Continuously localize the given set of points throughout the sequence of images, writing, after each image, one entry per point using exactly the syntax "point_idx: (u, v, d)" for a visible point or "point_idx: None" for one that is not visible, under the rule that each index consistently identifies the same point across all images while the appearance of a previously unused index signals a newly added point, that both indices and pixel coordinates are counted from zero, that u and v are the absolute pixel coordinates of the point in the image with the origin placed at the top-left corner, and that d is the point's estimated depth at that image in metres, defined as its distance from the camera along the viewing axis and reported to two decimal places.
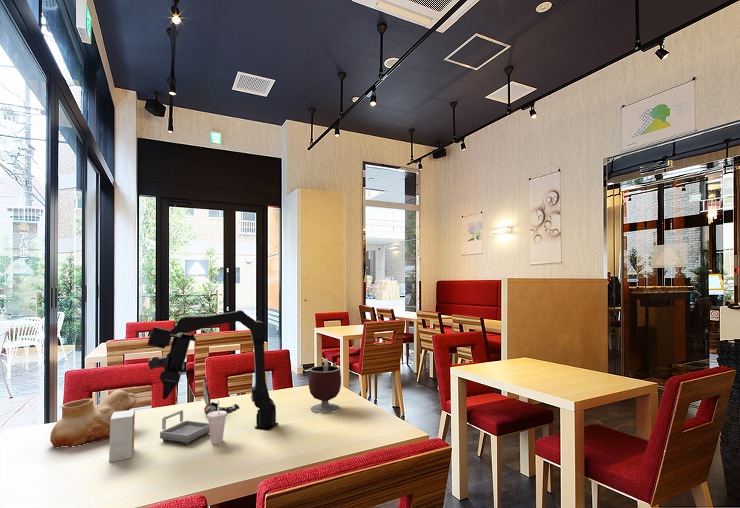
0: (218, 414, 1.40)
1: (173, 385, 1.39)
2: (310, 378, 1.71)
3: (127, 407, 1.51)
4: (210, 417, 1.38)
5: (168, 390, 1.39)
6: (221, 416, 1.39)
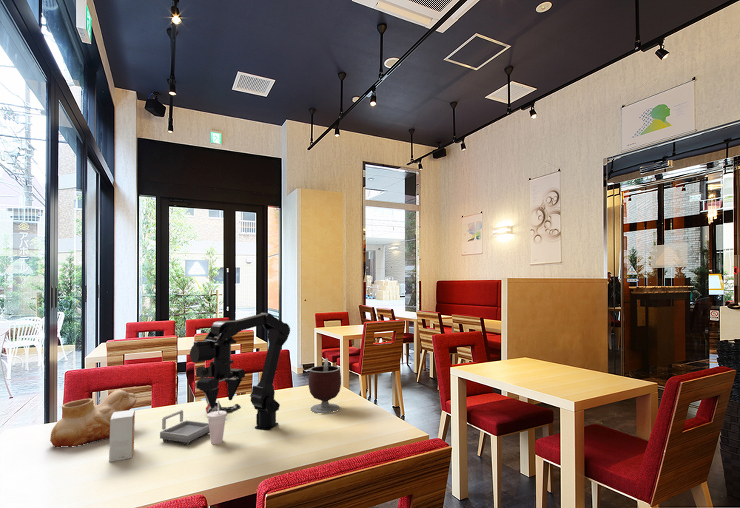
0: (218, 414, 1.40)
1: (213, 393, 1.34)
2: (310, 378, 1.71)
3: (127, 407, 1.51)
4: (210, 417, 1.38)
5: (212, 398, 1.35)
6: (221, 416, 1.39)
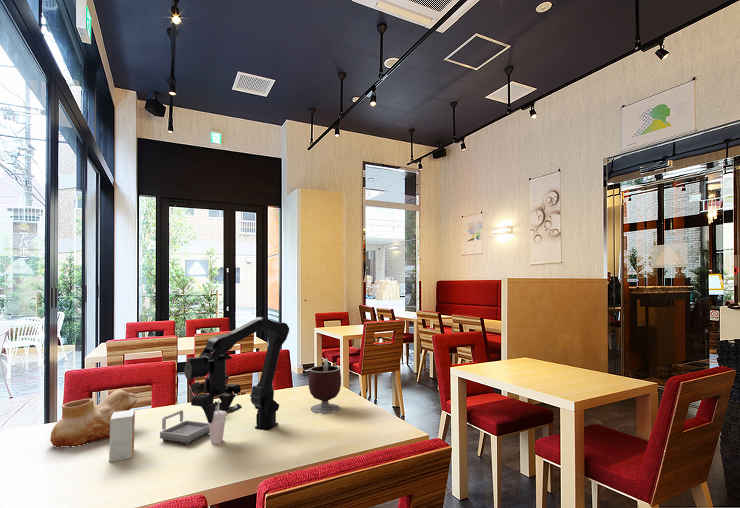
0: (218, 414, 1.40)
1: (210, 409, 1.36)
2: (310, 378, 1.71)
3: (127, 407, 1.51)
4: None
5: (209, 414, 1.37)
6: (221, 416, 1.39)
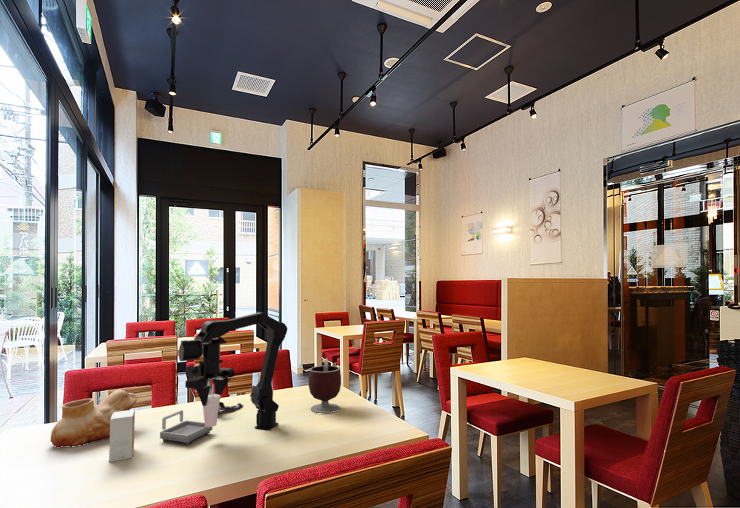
0: (212, 397, 1.41)
1: (204, 391, 1.37)
2: (310, 378, 1.71)
3: (127, 407, 1.51)
4: None
5: (203, 396, 1.38)
6: (215, 399, 1.40)
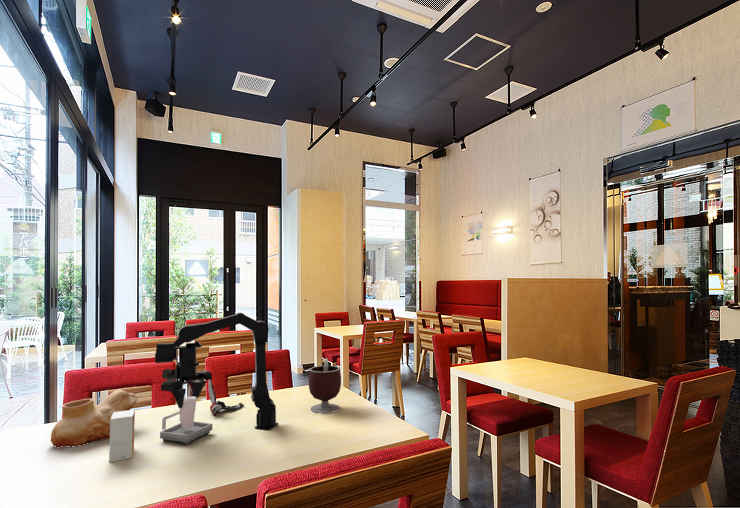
0: (188, 399, 1.44)
1: (180, 394, 1.40)
2: (310, 378, 1.71)
3: (127, 407, 1.51)
4: None
5: (179, 399, 1.41)
6: (191, 401, 1.44)
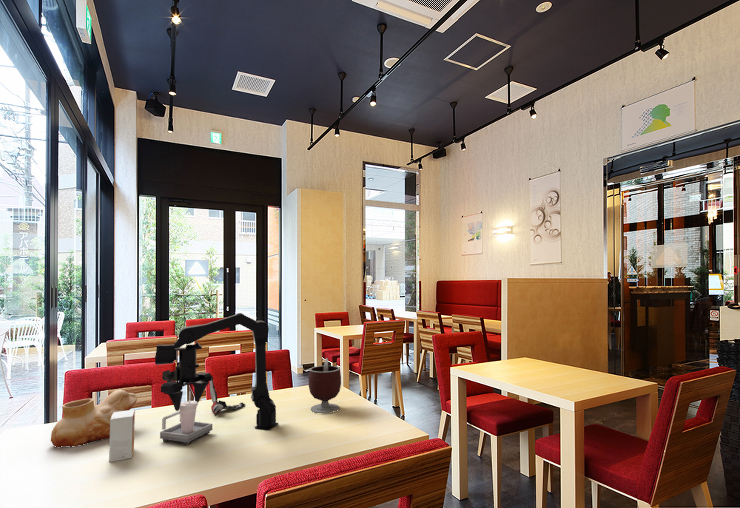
0: (189, 404, 1.44)
1: (177, 397, 1.39)
2: (310, 378, 1.71)
3: (127, 407, 1.51)
4: (181, 406, 1.43)
5: (176, 401, 1.40)
6: (192, 406, 1.43)
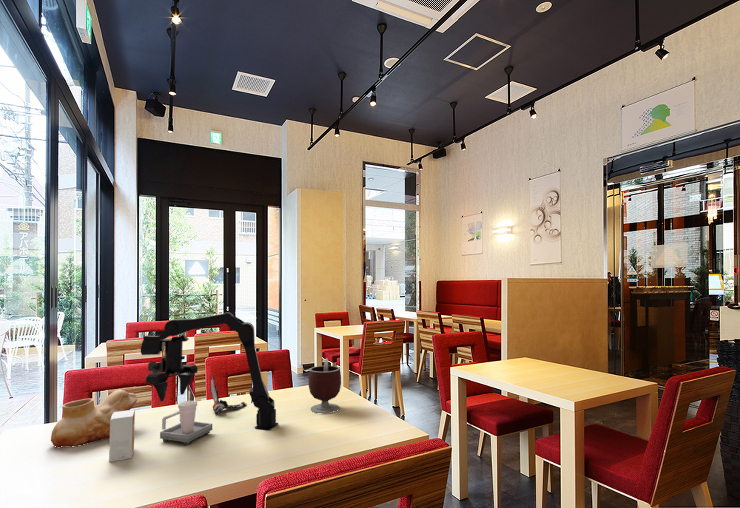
0: (189, 404, 1.44)
1: (162, 387, 1.41)
2: (310, 378, 1.71)
3: (128, 407, 1.51)
4: (180, 407, 1.43)
5: (161, 392, 1.42)
6: (191, 406, 1.43)
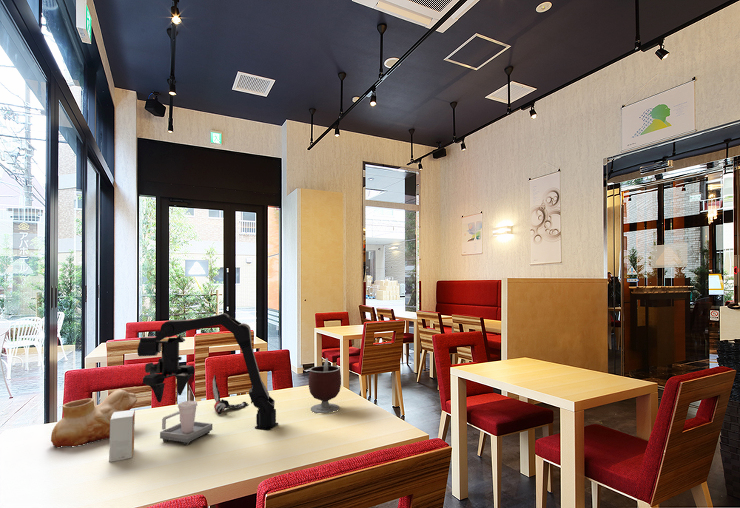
0: (188, 404, 1.44)
1: (159, 388, 1.42)
2: (310, 378, 1.71)
3: (128, 407, 1.51)
4: (180, 407, 1.43)
5: (158, 393, 1.43)
6: (191, 406, 1.43)
